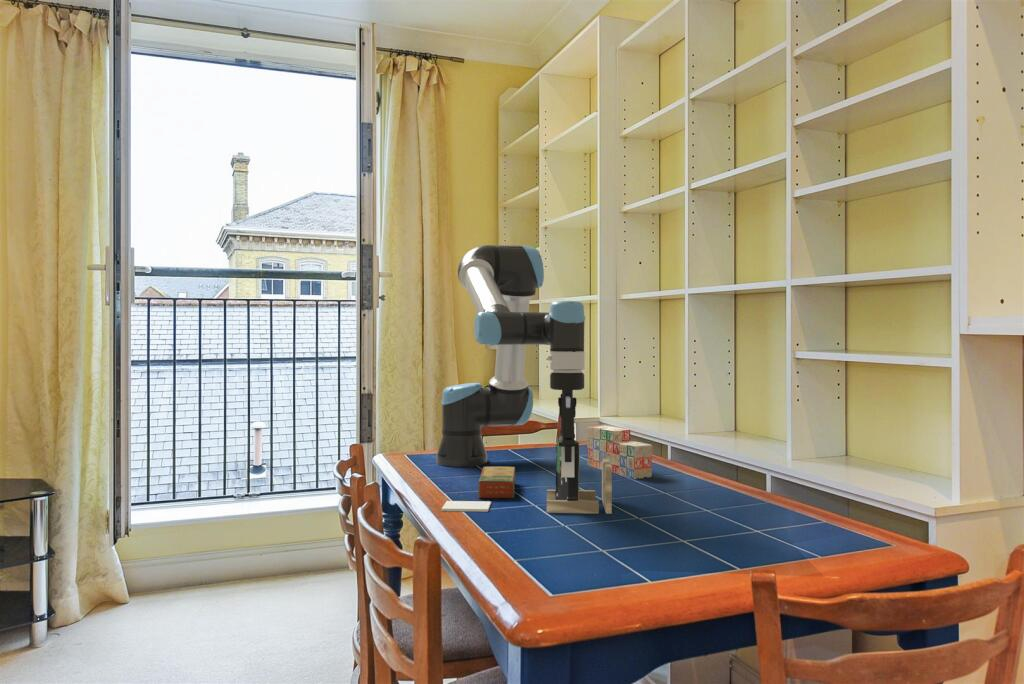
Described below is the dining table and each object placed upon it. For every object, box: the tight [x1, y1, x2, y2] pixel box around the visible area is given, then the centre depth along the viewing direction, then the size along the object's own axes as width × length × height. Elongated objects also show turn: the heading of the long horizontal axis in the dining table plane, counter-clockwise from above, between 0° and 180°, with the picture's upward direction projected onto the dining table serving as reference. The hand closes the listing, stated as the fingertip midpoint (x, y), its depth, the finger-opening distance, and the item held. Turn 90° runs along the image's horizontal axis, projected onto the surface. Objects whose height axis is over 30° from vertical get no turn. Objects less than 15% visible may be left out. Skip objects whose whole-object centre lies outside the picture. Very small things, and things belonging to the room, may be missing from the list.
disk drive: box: [555, 435, 581, 501], centre depth 149 cm, size 10×3×15 cm, turn 12°
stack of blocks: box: [586, 425, 653, 480], centre depth 188 cm, size 21×6×12 cm, turn 28°
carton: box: [477, 466, 516, 499], centre depth 164 cm, size 8×16×4 cm, turn 179°
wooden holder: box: [546, 457, 613, 515], centre depth 149 cm, size 11×14×10 cm
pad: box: [441, 500, 492, 513], centre depth 149 cm, size 7×10×1 cm
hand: (567, 472), depth 149 cm, fingers closed on disk drive, 10 cm apart
